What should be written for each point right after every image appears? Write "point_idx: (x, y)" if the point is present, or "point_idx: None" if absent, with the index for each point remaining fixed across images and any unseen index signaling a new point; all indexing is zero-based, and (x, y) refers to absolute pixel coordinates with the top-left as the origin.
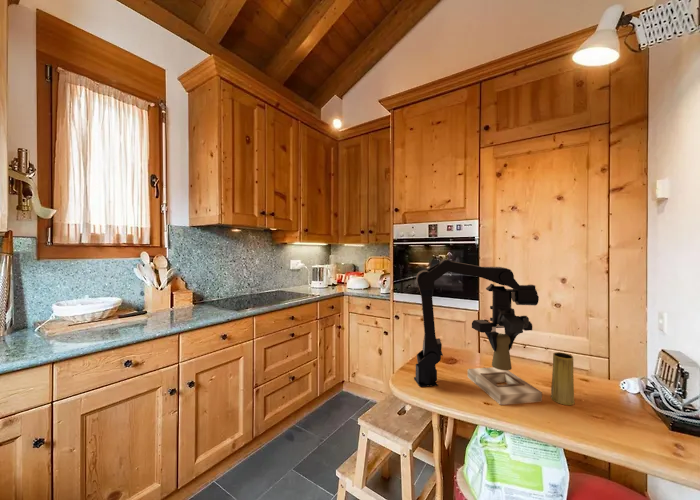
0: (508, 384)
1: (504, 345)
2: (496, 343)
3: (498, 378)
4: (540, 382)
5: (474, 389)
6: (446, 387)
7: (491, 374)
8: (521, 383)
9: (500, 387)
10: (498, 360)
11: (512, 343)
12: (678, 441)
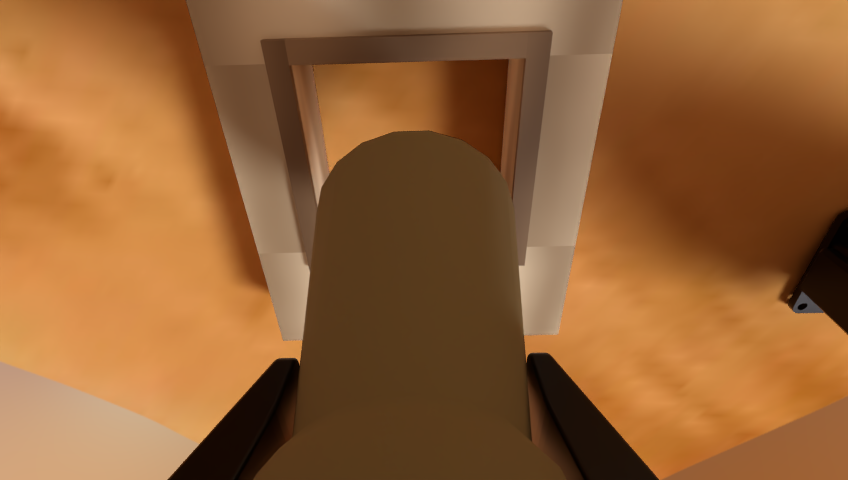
0: (420, 56)
1: (441, 402)
2: (585, 472)
3: None
4: (72, 188)
5: (624, 142)
6: (794, 188)
7: None
8: (281, 63)
9: (523, 23)
10: (504, 230)
11: (192, 461)
12: None
